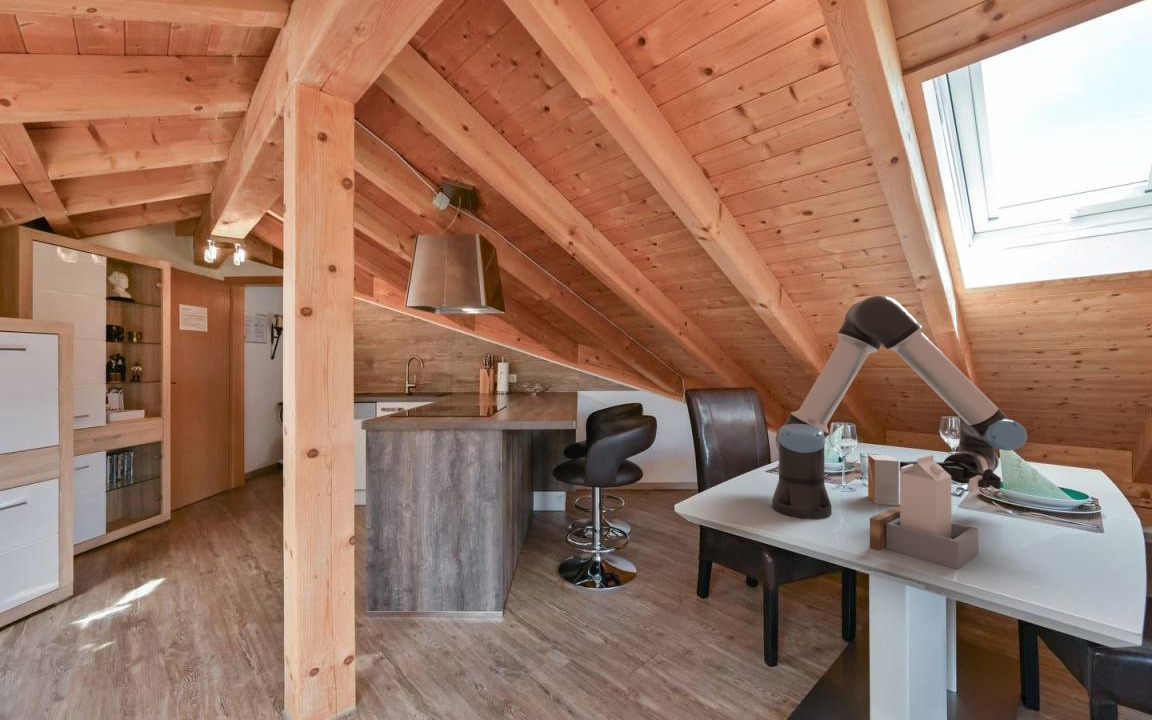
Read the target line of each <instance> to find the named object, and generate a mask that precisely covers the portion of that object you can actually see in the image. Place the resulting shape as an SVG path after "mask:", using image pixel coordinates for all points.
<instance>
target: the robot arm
mask: <svg viewBox="0 0 1152 720" xmlns="http://www.w3.org/2000/svg"><path fill="white" fill-rule="evenodd" d="M922 328H923V326H922V325H921V324H920V323H919V322H918V321H917V320H916V319H915V318H914V317H913V315H911V314H910V313H909V312H908V310H906V308H905V307H903V306H902V305H901V304H900V303H899V302H898V301H897V300H896V299H894V298H892V297H890V296H885V295H874V296H870V297H867V298H865V299H863V300H861V301H859V302H857V303H855V304H854V305H852V306H851V307H850V308H849V309H848V310H847V312H846V314H845V318H844V322H843V323H842V325H841V327H840V328H839V330H838V332H837V333H836V335H837V339H838V343H837V344H836V346H835V348H834V349H833V351H832V353H831V354H830V357H829V358H828V360H827V361H826V363H825V365H824V367H823V368H822V370H821V372H820V373H819V375H818V377H817V379H816V380H815V382H814V384H813V385H812V387H811V389H810V390H809V392H808V394H807V396H805V397H806V398H805V399H804V401H803V403H802V404H801V405H800V408H799V409H798V410H796V411H792V412H790V414H789V416H788V418H787V420H786V421H785V423H784V424H783V425H781V427H780V428H779V429H778V431H777V432H776V436H775V445H776V448H777V451H778V482H777V485H776V487H775V491H774V493H773V496H772V501H771V502H772V503H771V507H772V509H774V510H775V511H776V512H778V513H780V514H784V515H786V516H787V515H788V516H790V517H796V518H801V519H823V518H828V517H830V516H832V514H833V513H832V509H833V507H832V503H831V499H830V497H829V495H828V491H827V489H826V486H825V485H826V484H825V445H826V437H827V436H828V435H829V432H830V431H829V429H828V423H829V421H830V419H831V418H832V416H833V415H834V413H835V412H836V410H837V408H838V406H839V405H840V403H841V401H842V400H843V398H844V397H845V394H846V393H847V391H848V389H849V388H850V386H851V385H852V383H853V381H854V380H855V378H856V376H857V375H858V373H859V371H860V370H861V368H862V367H863V365H864V363H865V361H866V360H867V358H868V356H869V355H870V354H872V353H877V352H879V350H880V348H881V346H883V347H884V348H885V349H886V350H887V351H888V350H889V351H894V352H895V353H896V354H897V355H898V356H899V357H900V358H901V360H903V361H904V362H905V363H906V364H907V365H908V367H909V368H911V369H912V370H913V372H915V373H916V374H917V375H918V376H919V378H920V379H922V380H923V381H924V383H926V384H927V385H928V386H929V387H930V388H931V389H932V390H933V391H934V392H935V393H936V394H937V396H939V397H940V399H941V400H943V402H944V403H945V404H947V406H948V407H949V408H951V410H953V411H954V412H955V414H957V416H958V424H959V425H958V429H959V431H958V432H959V434H958V435H959V436H958V437H959V438H958V440H959V441H958V442H959V444H958V452H956V453H954V454H951V455H949V456H947V457H946V458H945V459H944V460H943V462H942V461H935V462H936V463H937V464H939V465H940V466H941V467H942V468H943V469H944V470H945V471H946V472H947V473H948V474H949V475H950V476H951V481H953V482H955V483H957V484H963V485H965V484H968V486H969V487H968V491H969V492H971V493H974V492H976V491H978V490H981V489H982V488H986V489H987V488H990V486H991V487H992V488H994V489H995V490H1000V489H1001V488H1002V487H1001V486H1002V483H1001V482H1002V481H1001V480H1002V478H1001V477H1000V476H998V475H997V474H996V473H994V472H995V471H996V470H997V468H998V467H999V465H1000V461H999V457H998V455H997V453H996V450H1001V451H1016V450H1018V449H1020V448H1022V447H1023V446H1024V445H1025V444H1026V442H1027V439H1028V433H1027V430H1026V428H1025V427H1024V426H1023V425H1022V424H1021V423H1019V422H1018V421H1015V420H1013V419H1011V418H1009V417H1008V416H1007V415H1006V414H1005V413H1004V412H1003V411H1002V410H1000V409H999V407H997V405H996V404H995V403H993V401H992V400H991V399H990V398H989V397H988V396H986V394H985V393H983V392H982V391H981V389H979V387H978V386H977V385H975V384H974V383H973V382H972V380H971V379H970V378H968V377H967V376H966V375H965V373H963V371H962V370H960V369H959V368H958V367H957V366H956V365H955V364H954V362H953V361H951V360H950V358H949V357H947V356H946V355H945V354H944V352H943V351H941V350H940V349H939V348H938V347H937V346H936V345H935V344H934V343H933V342H932V341H931V340H930V339H929V338H928V337H927V336H926V335H925V334H924V332H922V330H923V329H922ZM916 464H917V460H916V461H915V460H914V461H912V460H911V461H910V460H909V461H899V475H900V474H901V473H902V472H904V471H906V470H907V469H909V468H911V467H913V466H914V465H916Z"/></svg>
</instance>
